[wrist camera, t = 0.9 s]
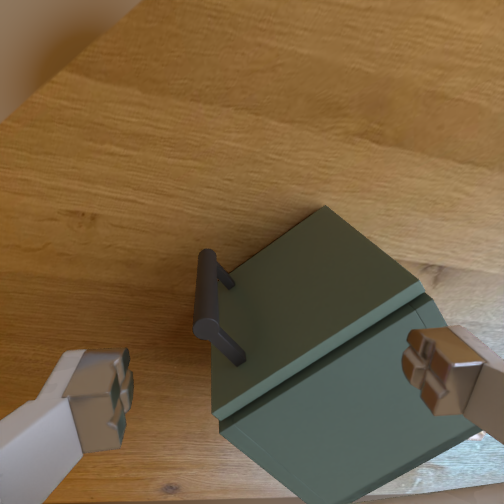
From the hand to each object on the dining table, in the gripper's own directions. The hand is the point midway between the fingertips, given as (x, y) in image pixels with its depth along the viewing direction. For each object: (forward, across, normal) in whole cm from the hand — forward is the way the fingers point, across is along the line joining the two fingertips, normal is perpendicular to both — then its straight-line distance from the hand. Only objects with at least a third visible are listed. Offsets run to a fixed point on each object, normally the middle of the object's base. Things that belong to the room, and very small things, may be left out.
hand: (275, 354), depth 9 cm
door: (+25, -3, +6) cm, 26 cm away
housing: (+26, -9, +14) cm, 31 cm away
